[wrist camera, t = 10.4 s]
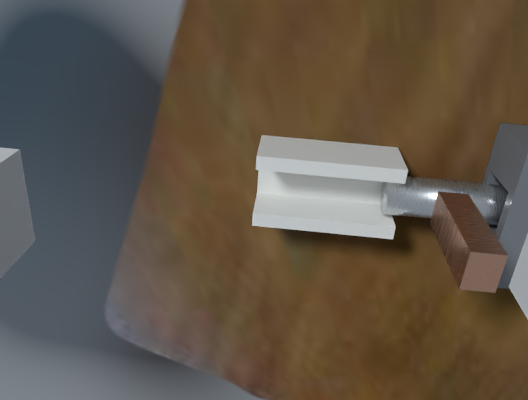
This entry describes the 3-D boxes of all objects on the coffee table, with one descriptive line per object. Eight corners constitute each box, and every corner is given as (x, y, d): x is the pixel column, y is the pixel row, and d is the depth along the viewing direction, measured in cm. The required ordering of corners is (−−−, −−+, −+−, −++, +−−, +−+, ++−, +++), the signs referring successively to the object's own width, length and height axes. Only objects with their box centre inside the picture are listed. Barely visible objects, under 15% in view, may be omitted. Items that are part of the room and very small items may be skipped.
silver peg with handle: (385, 167, 43) (412, 243, 32) (573, 185, 43) (665, 268, 32) (378, 202, 45) (401, 285, 34) (559, 220, 44) (643, 310, 33)
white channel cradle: (261, 135, 44) (256, 156, 40) (397, 147, 44) (408, 170, 39) (257, 199, 47) (252, 225, 43) (385, 211, 47) (393, 239, 42)
